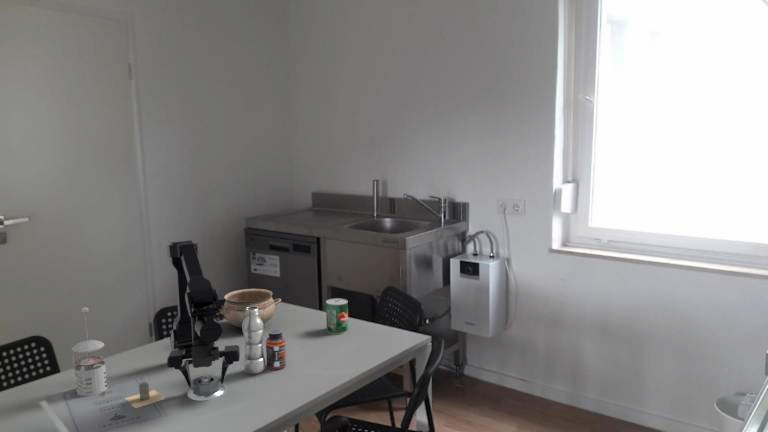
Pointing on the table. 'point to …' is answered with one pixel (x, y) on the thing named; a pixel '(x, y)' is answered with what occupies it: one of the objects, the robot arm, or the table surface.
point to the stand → (144, 396)
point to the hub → (201, 398)
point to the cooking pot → (248, 305)
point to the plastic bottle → (253, 342)
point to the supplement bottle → (275, 350)
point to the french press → (89, 367)
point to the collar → (206, 386)
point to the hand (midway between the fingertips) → (206, 385)
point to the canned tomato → (337, 315)
